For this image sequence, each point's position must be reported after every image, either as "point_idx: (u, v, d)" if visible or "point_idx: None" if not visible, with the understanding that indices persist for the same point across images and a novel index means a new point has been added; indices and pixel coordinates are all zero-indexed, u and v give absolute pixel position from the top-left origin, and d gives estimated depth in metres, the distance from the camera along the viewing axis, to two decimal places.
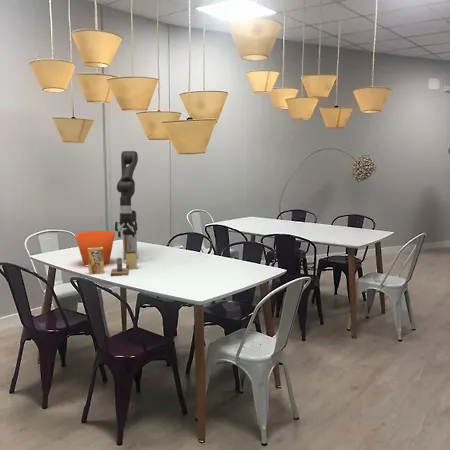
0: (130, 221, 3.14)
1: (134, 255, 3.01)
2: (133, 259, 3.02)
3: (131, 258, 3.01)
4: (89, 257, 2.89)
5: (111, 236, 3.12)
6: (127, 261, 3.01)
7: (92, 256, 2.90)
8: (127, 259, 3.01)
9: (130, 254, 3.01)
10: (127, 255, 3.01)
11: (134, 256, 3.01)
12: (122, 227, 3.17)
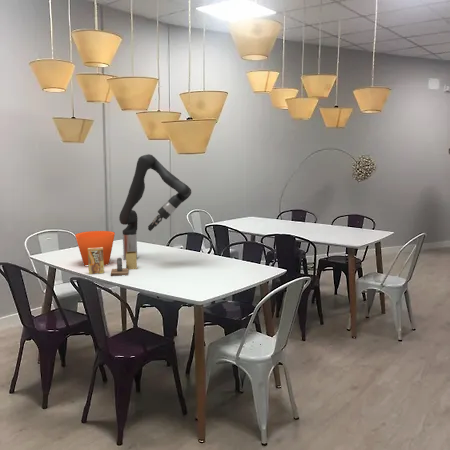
0: None
1: (134, 255, 3.01)
2: (133, 259, 3.02)
3: (131, 258, 3.01)
4: (89, 257, 2.89)
5: (111, 236, 3.12)
6: (127, 261, 3.01)
7: (92, 256, 2.90)
8: (127, 259, 3.01)
9: (130, 254, 3.01)
10: (127, 255, 3.01)
11: (134, 256, 3.01)
12: (154, 220, 3.01)
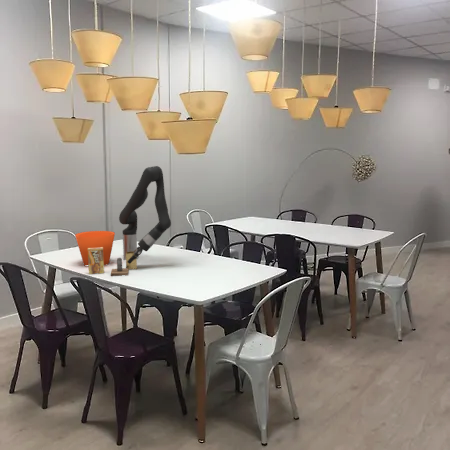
0: None
1: None
2: None
3: None
4: (89, 257, 2.89)
5: (111, 236, 3.12)
6: (127, 261, 3.01)
7: (92, 256, 2.90)
8: (127, 259, 3.01)
9: (130, 254, 3.01)
10: (127, 255, 3.01)
11: (134, 256, 3.01)
12: None
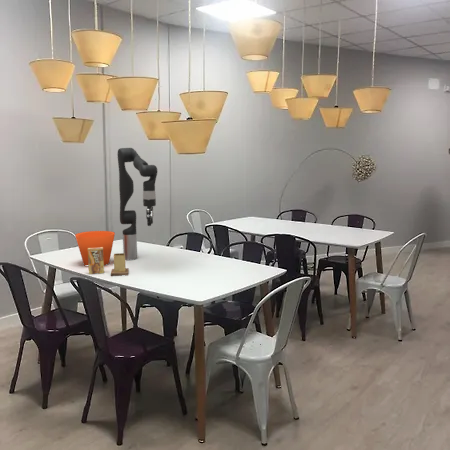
0: None
1: (122, 257, 2.88)
2: (121, 261, 2.88)
3: (119, 260, 2.88)
4: (89, 257, 2.89)
5: (111, 236, 3.12)
6: (115, 263, 2.88)
7: (92, 256, 2.90)
8: (115, 261, 2.88)
9: (118, 256, 2.88)
10: (115, 257, 2.88)
11: (122, 258, 2.88)
12: None
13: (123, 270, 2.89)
